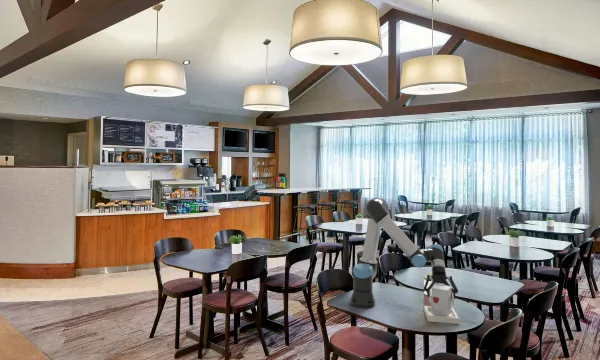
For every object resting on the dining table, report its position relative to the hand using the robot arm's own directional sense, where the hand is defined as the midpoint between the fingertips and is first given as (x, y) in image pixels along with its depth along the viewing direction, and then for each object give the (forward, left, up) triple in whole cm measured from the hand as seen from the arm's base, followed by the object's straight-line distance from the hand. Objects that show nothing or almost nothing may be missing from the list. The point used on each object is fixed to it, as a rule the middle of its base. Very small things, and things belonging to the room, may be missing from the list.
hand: (441, 303), depth 217 cm
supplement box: (0, +2, -7) cm, 7 cm away
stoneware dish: (0, +3, -9) cm, 9 cm away
